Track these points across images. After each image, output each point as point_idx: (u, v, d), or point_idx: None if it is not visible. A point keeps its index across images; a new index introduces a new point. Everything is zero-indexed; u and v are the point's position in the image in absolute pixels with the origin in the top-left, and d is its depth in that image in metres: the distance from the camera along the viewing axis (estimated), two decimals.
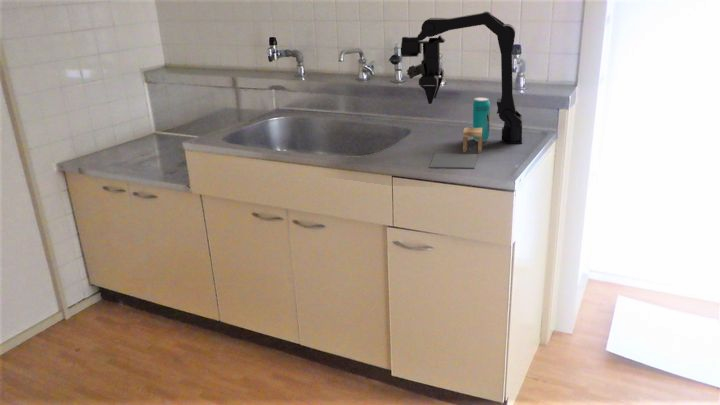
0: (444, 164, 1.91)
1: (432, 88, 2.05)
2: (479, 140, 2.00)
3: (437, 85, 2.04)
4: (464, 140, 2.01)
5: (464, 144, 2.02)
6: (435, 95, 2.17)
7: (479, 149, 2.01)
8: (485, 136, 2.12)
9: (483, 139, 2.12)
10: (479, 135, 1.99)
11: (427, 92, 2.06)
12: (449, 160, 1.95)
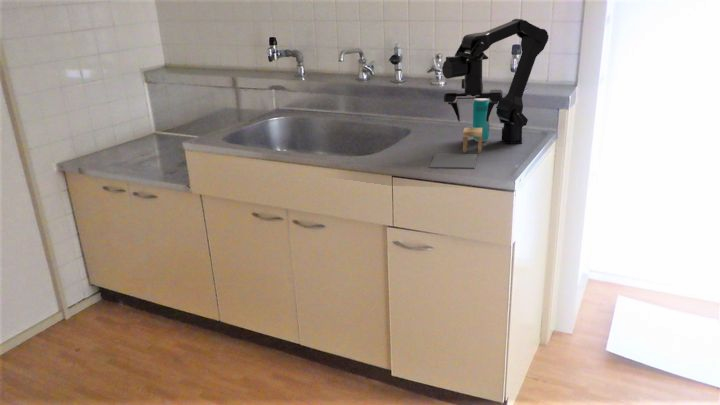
0: (444, 164, 1.91)
1: None
2: (479, 140, 2.00)
3: (451, 103, 1.98)
4: (464, 140, 2.01)
5: (464, 144, 2.02)
6: (486, 118, 1.99)
7: (479, 149, 2.01)
8: (485, 136, 2.12)
9: (483, 139, 2.12)
10: (479, 135, 1.99)
11: None
12: (449, 160, 1.95)
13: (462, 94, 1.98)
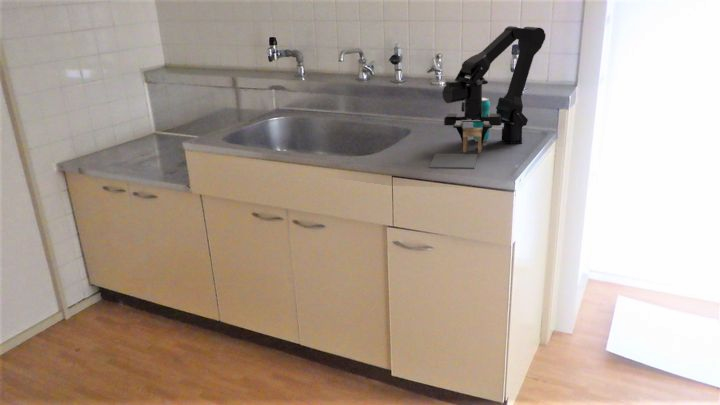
0: (444, 164, 1.91)
1: None
2: (479, 140, 2.00)
3: (456, 126, 2.00)
4: (464, 140, 2.01)
5: (464, 144, 2.02)
6: None
7: (479, 149, 2.01)
8: (485, 136, 2.12)
9: None
10: (479, 135, 1.99)
11: None
12: (449, 160, 1.95)
13: (462, 118, 2.01)
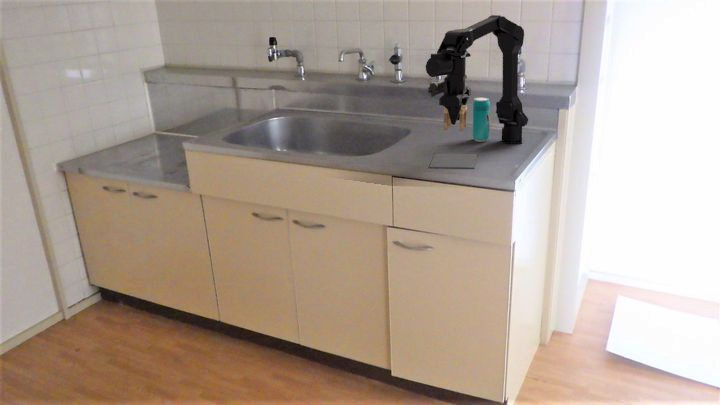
0: (444, 164, 1.91)
1: (456, 107, 1.85)
2: (466, 114, 1.91)
3: (461, 104, 1.83)
4: (463, 117, 1.87)
5: (463, 122, 1.88)
6: (459, 117, 1.93)
7: (466, 123, 1.93)
8: (485, 136, 2.12)
9: (483, 139, 2.12)
10: (466, 108, 1.91)
11: (450, 112, 1.86)
12: (449, 160, 1.95)
13: None
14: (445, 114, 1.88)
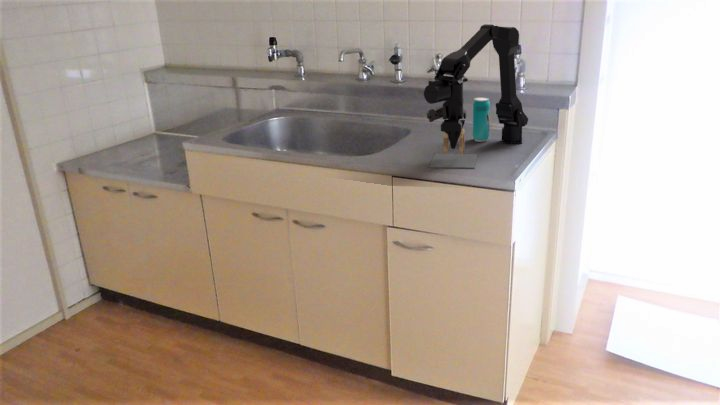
0: (444, 164, 1.91)
1: (456, 132, 1.86)
2: None
3: (461, 129, 1.85)
4: (462, 141, 1.89)
5: (462, 145, 1.89)
6: None
7: None
8: (485, 136, 2.12)
9: (483, 139, 2.12)
10: None
11: (450, 136, 1.87)
12: (449, 160, 1.95)
13: None
14: (444, 139, 1.89)
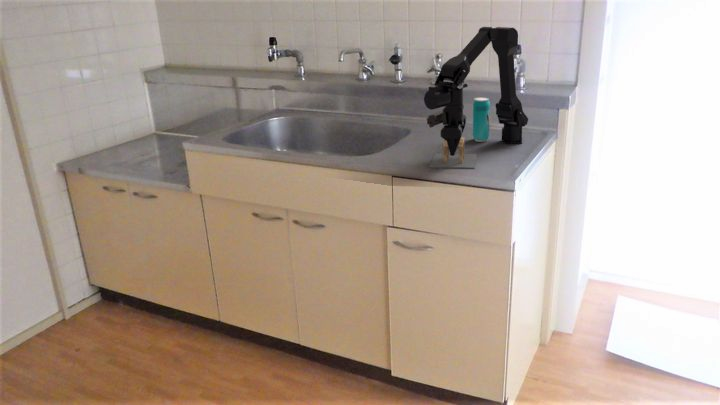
0: (444, 164, 1.91)
1: (455, 139, 1.85)
2: None
3: None
4: (462, 150, 1.90)
5: (462, 154, 1.90)
6: None
7: None
8: (485, 136, 2.12)
9: (483, 139, 2.12)
10: None
11: (449, 143, 1.87)
12: (449, 160, 1.95)
13: None
14: (444, 147, 1.90)
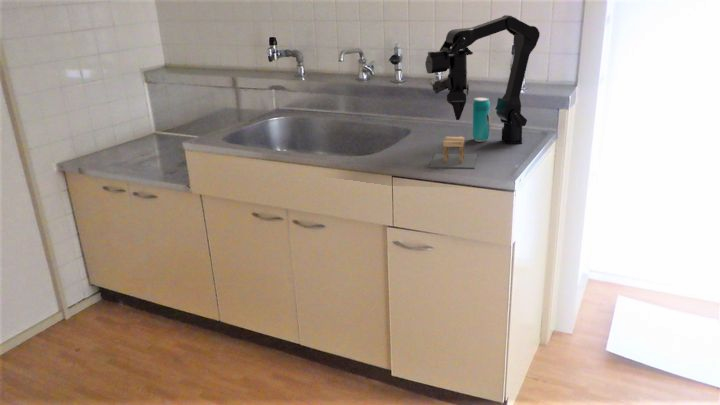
0: (444, 164, 1.91)
1: (460, 103, 1.94)
2: None
3: None
4: (462, 150, 1.90)
5: (462, 154, 1.90)
6: None
7: None
8: (485, 136, 2.12)
9: (483, 139, 2.12)
10: None
11: (455, 108, 1.95)
12: (449, 160, 1.95)
13: None
14: (444, 147, 1.90)
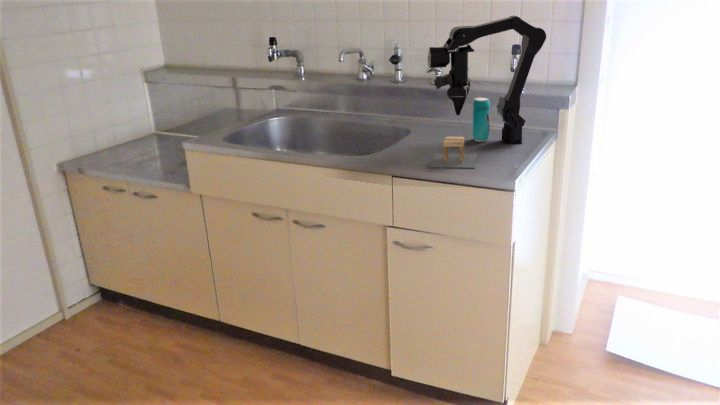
0: (444, 164, 1.91)
1: (460, 99, 1.98)
2: None
3: (466, 96, 1.97)
4: (462, 150, 1.90)
5: (462, 154, 1.90)
6: None
7: None
8: (485, 136, 2.12)
9: (483, 139, 2.12)
10: None
11: (455, 103, 2.00)
12: (449, 160, 1.95)
13: None
14: (444, 147, 1.90)
